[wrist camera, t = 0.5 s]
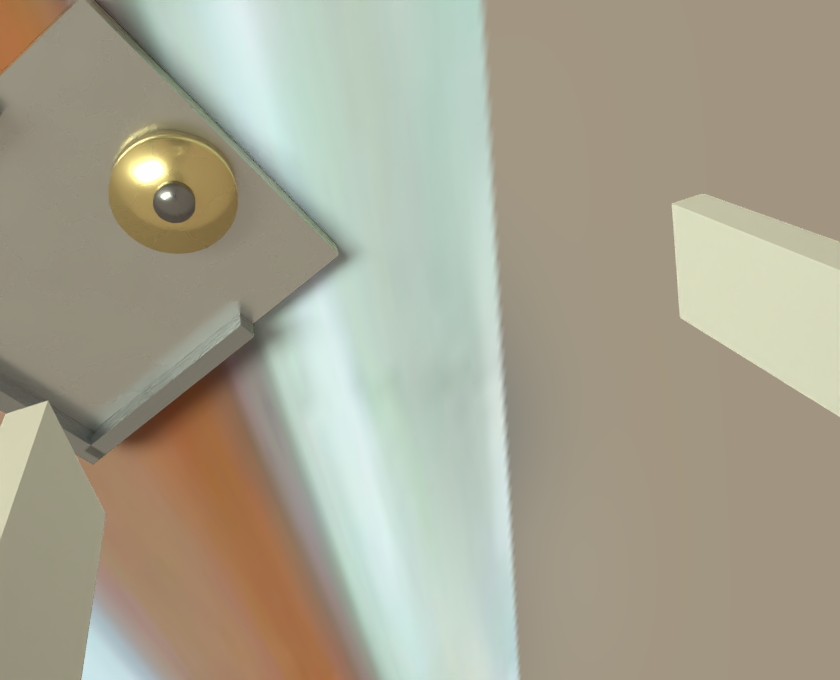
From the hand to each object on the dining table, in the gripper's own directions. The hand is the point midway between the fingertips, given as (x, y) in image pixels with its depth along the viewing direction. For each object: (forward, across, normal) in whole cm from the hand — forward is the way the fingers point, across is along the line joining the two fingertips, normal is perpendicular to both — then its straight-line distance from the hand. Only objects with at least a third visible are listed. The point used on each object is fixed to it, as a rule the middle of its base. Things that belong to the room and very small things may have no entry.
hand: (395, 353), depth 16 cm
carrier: (+26, -10, -2) cm, 27 cm away
